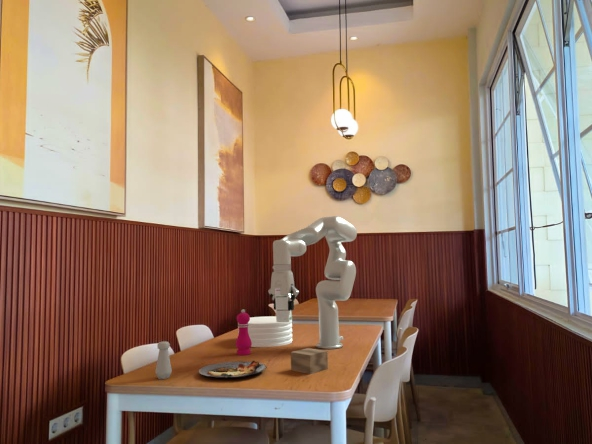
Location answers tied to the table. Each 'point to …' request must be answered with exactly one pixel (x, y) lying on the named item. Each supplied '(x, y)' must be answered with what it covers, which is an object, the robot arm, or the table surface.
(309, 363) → the walnut block
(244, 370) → the food plate
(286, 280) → the robot arm
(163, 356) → the salt shaker
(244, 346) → the pepper mill
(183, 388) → the table surface
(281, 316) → the syrup box
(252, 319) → the plate stack
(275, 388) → the table surface
